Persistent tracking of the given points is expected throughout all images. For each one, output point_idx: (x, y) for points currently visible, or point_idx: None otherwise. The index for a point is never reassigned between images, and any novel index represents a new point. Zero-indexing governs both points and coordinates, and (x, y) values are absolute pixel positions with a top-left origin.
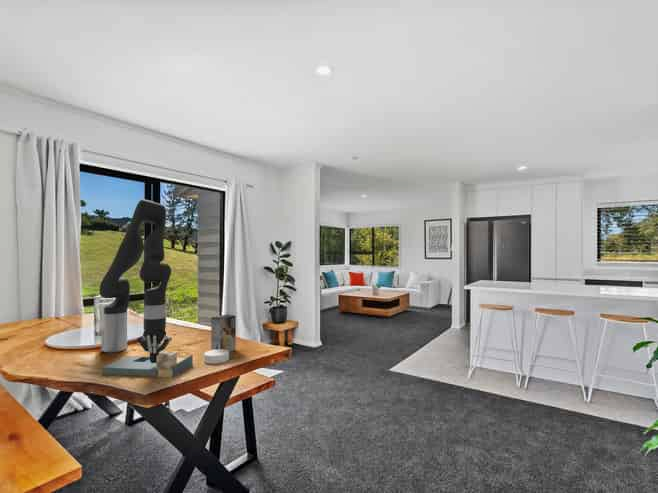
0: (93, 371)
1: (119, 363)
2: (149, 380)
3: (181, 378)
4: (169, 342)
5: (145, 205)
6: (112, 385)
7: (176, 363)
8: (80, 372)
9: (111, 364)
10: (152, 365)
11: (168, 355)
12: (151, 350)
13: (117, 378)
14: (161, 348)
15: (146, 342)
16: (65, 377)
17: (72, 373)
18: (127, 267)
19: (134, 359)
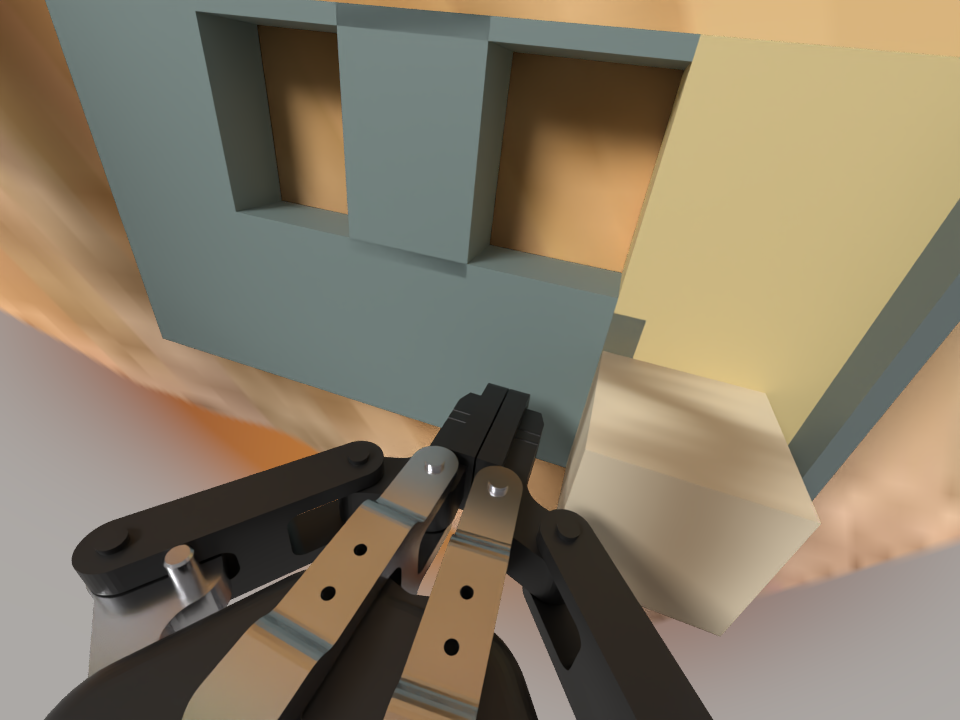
0: (118, 260)
1: (187, 262)
2: (559, 483)
3: (821, 512)
4: (704, 708)
5: None
6: None
7: (767, 409)
8: (78, 271)
9: (158, 281)
10: (487, 358)
11: (701, 614)
12: (438, 541)
13: (341, 406)
14: (577, 633)
15: (264, 533)
16: (96, 341)
17: (62, 284)
18: None
19: (204, 136)
